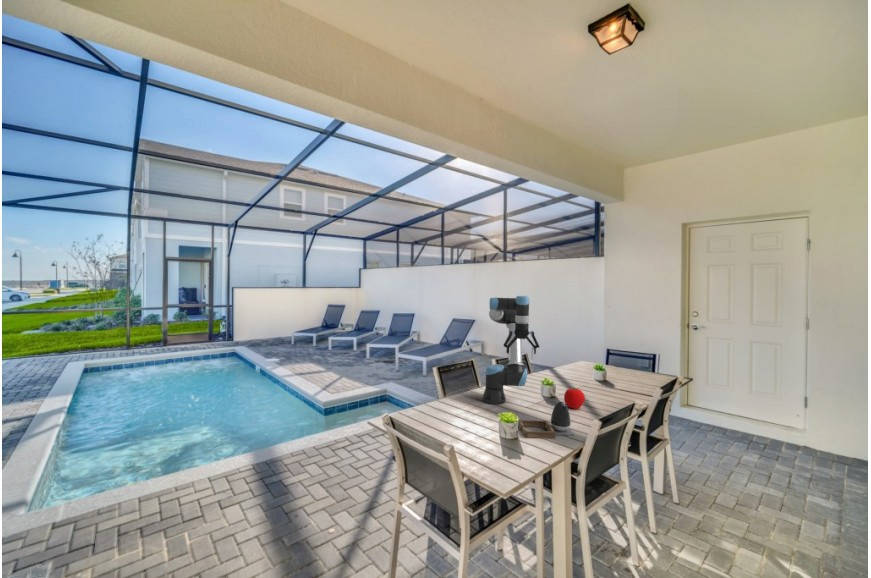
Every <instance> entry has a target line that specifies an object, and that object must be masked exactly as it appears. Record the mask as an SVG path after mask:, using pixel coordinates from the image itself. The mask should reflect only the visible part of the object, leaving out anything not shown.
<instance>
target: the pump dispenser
mask: <svg viewBox="0 0 871 578" xmlns="http://www.w3.org/2000/svg"><path fill="white" fill-rule="evenodd" d="M550 423H551V424H550V425H552V426H553V428H554V429H556V430H557V431H566V430H568V429H570V426H571V424H572V422H571V415H570V411H569V408H568V406H567V405H566V403H565V401H562V400H560V401H557V402H556V403H555V405H554V407H553V409H552V412H551V415H550Z"/></svg>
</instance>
